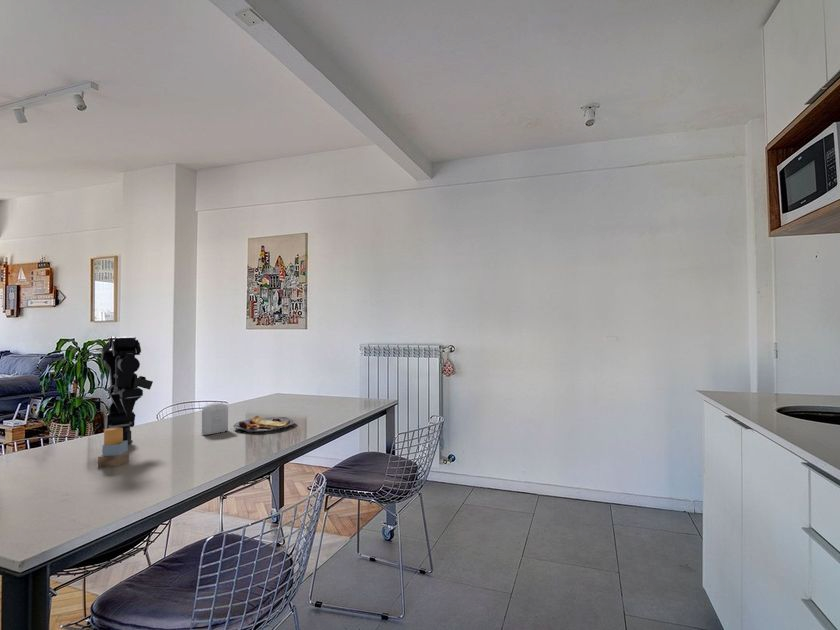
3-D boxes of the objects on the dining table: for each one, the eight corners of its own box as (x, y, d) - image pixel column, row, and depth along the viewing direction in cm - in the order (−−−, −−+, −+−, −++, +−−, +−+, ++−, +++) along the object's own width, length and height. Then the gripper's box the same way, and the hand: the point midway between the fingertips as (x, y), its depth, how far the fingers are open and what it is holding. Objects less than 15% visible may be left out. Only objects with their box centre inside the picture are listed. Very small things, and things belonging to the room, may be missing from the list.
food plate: (221, 431, 184) (222, 422, 185) (259, 420, 206) (260, 412, 206) (270, 437, 176) (270, 428, 176) (304, 425, 198) (304, 417, 198)
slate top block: (102, 456, 140) (102, 445, 140) (111, 451, 145) (111, 441, 145) (119, 455, 141) (119, 444, 141) (127, 450, 146) (127, 440, 146)
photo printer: (225, 429, 187) (225, 400, 187) (229, 431, 184) (229, 402, 184) (200, 434, 180) (200, 404, 180) (203, 436, 177) (203, 405, 177)
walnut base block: (98, 467, 139) (98, 456, 139) (110, 461, 145) (110, 451, 145) (117, 467, 140) (117, 456, 140) (128, 461, 146) (128, 450, 146)
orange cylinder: (100, 445, 140) (100, 431, 140) (110, 441, 145) (110, 427, 145) (116, 445, 140) (116, 430, 140) (126, 440, 145) (126, 427, 145)
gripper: (159, 370, 157) (159, 414, 157) (142, 367, 169) (142, 408, 169) (122, 373, 149) (122, 419, 148) (107, 370, 161) (107, 413, 161)
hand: (125, 414), depth 157 cm, fingers open, 9 cm apart
